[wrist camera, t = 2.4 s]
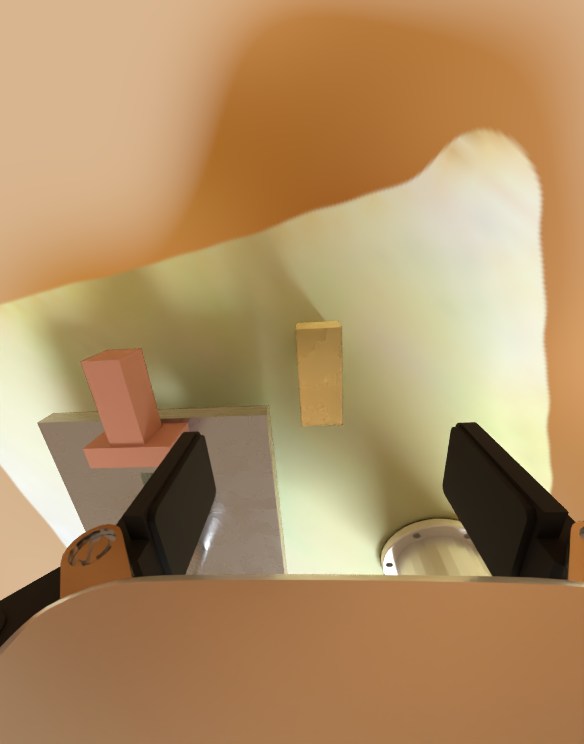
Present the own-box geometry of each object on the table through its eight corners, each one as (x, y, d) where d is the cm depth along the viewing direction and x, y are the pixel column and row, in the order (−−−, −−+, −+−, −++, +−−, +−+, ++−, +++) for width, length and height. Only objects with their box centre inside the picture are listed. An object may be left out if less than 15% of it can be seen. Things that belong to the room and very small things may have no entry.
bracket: (169, 345, 19) (146, 359, 16) (191, 440, 22) (174, 466, 19) (86, 349, 20) (49, 364, 17) (117, 442, 22) (90, 468, 20)
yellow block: (331, 307, 25) (341, 327, 17) (333, 379, 27) (342, 424, 20) (299, 309, 25) (295, 329, 17) (303, 381, 27) (301, 425, 20)
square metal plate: (276, 378, 27) (253, 459, 16) (291, 537, 35) (283, 667, 24) (98, 386, 29) (-36, 465, 18) (150, 537, 36) (79, 660, 25)
